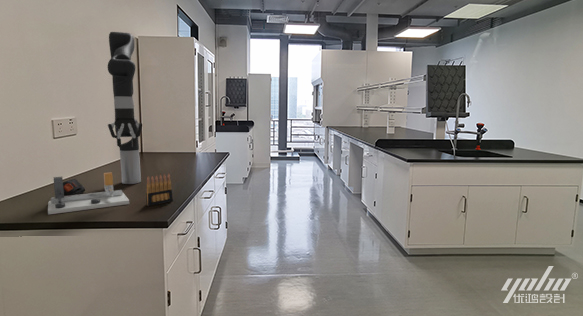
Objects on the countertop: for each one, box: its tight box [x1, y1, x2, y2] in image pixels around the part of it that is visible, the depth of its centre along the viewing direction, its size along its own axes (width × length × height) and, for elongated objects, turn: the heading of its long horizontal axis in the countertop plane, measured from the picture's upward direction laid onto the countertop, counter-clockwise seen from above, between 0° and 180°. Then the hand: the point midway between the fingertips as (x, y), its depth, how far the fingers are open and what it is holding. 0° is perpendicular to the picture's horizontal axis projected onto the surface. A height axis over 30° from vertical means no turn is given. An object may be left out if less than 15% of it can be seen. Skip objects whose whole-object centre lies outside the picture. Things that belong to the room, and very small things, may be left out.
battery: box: [63, 178, 86, 196], centre depth 165 cm, size 12×8×7 cm
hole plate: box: [47, 192, 130, 215], centre depth 151 cm, size 16×28×3 cm, turn 122°
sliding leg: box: [103, 171, 114, 197], centre depth 154 cm, size 11×3×8 cm, turn 32°
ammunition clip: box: [145, 173, 174, 207], centre depth 152 cm, size 11×2×12 cm, turn 135°
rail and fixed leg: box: [50, 176, 123, 204], centre depth 150 cm, size 11×26×10 cm, turn 122°
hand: (126, 147), depth 159 cm, fingers open, 4 cm apart
